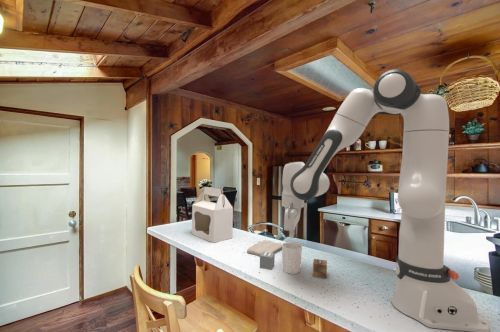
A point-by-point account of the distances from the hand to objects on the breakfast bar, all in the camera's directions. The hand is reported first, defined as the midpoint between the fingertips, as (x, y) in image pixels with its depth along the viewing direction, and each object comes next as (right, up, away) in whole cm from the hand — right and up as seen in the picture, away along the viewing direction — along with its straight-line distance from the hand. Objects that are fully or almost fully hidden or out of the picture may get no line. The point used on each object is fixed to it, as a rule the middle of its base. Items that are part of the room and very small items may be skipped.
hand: (292, 236), depth 98 cm
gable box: (-39, -12, +43) cm, 59 cm away
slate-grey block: (-10, -13, +3) cm, 17 cm away
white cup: (0, -14, 0) cm, 14 cm away
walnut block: (+10, -14, -3) cm, 18 cm away
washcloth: (-9, -14, +22) cm, 27 cm away
